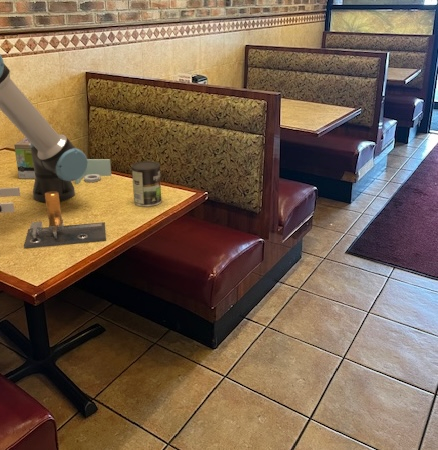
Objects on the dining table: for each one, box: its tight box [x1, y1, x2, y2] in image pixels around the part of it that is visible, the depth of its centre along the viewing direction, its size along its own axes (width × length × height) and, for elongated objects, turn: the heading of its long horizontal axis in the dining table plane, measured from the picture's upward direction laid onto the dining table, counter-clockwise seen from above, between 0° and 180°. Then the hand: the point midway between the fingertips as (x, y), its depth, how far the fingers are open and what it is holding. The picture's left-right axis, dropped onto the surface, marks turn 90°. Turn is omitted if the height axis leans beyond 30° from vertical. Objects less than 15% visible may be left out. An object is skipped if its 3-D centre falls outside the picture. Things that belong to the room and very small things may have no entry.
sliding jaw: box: [45, 191, 64, 239], centre depth 154 cm, size 9×4×12 cm, turn 13°
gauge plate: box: [23, 221, 107, 249], centre depth 157 cm, size 12×24×4 cm, turn 103°
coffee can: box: [130, 160, 163, 208], centre depth 182 cm, size 10×10×14 cm
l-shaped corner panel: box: [74, 158, 112, 185], centre depth 205 cm, size 12×12×8 cm
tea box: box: [13, 136, 35, 180], centre depth 211 cm, size 15×10×15 cm
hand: (17, 199), depth 151 cm, fingers open, 13 cm apart
